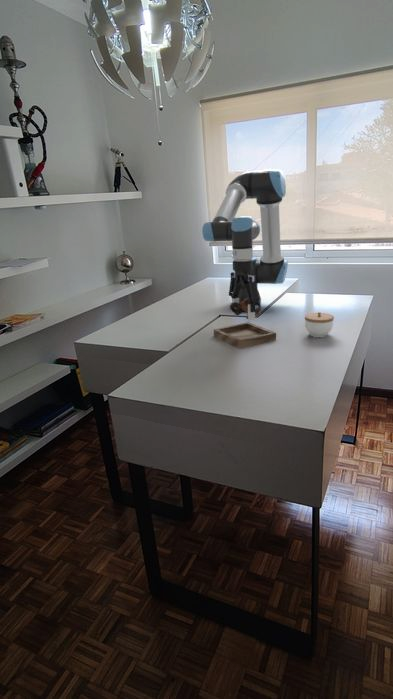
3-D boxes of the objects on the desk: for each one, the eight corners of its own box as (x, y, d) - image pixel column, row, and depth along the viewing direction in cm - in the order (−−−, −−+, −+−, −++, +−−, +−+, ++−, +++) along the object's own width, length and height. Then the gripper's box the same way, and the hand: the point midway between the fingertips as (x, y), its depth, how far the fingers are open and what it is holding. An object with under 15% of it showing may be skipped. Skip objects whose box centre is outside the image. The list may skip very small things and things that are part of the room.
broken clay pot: (255, 313, 171) (262, 298, 165) (257, 329, 164) (263, 313, 158) (227, 308, 169) (232, 292, 163) (227, 323, 163) (233, 308, 157)
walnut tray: (213, 336, 171) (213, 329, 170) (248, 328, 178) (248, 322, 177) (239, 348, 155) (239, 341, 154) (276, 339, 162) (276, 332, 161)
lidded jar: (334, 339, 159) (335, 315, 156) (304, 339, 161) (305, 315, 158) (331, 331, 169) (332, 308, 165) (303, 330, 171) (304, 308, 168)
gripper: (218, 258, 164) (220, 312, 172) (251, 263, 145) (252, 325, 153) (234, 256, 168) (236, 309, 175) (269, 261, 148) (269, 321, 156)
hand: (243, 317), depth 164 cm, fingers closed on broken clay pot, 10 cm apart
